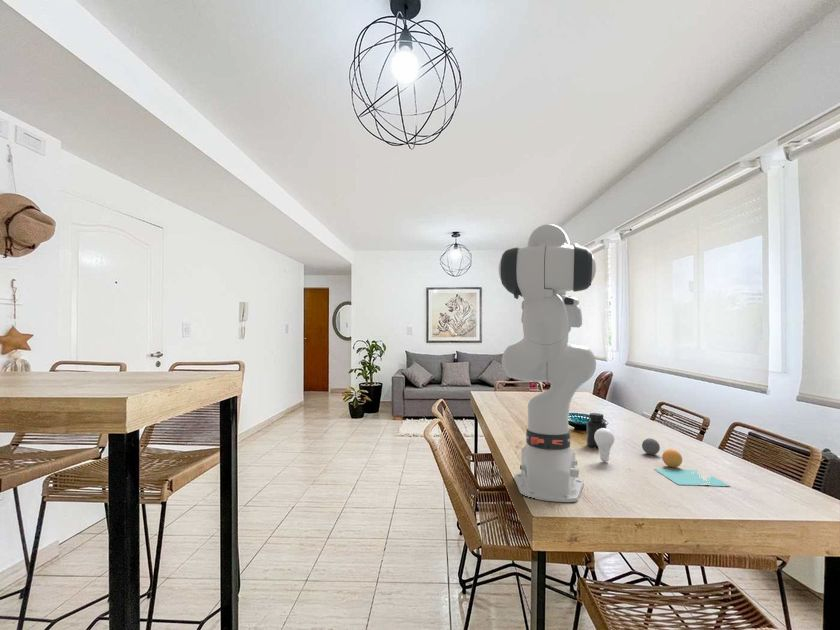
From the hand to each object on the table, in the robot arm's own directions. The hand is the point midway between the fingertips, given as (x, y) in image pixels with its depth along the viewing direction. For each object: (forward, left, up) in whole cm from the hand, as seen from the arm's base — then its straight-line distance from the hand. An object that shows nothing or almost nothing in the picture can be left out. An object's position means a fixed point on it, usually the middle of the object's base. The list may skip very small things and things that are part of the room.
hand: (550, 338), depth 148 cm
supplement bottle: (+18, -17, -41) cm, 47 cm away
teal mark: (-11, -39, -40) cm, 57 cm away
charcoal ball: (+12, -34, -38) cm, 52 cm away
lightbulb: (-3, -17, -40) cm, 44 cm away
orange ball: (-2, -37, -38) cm, 53 cm away
